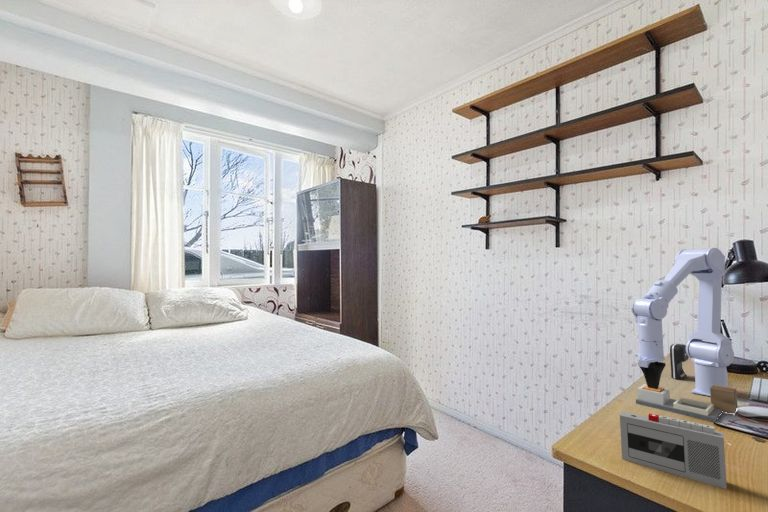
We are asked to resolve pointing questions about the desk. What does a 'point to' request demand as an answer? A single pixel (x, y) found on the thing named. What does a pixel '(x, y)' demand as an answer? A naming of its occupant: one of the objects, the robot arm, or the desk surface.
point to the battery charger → (678, 360)
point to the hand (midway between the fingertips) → (653, 387)
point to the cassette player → (674, 447)
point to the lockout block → (724, 398)
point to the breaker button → (654, 389)
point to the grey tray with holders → (677, 404)
